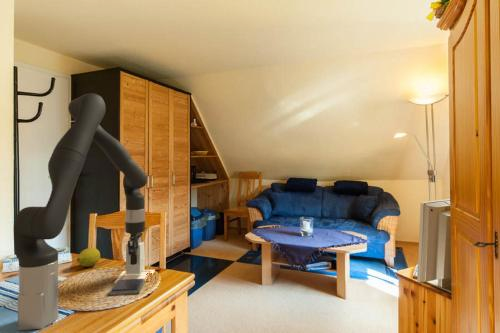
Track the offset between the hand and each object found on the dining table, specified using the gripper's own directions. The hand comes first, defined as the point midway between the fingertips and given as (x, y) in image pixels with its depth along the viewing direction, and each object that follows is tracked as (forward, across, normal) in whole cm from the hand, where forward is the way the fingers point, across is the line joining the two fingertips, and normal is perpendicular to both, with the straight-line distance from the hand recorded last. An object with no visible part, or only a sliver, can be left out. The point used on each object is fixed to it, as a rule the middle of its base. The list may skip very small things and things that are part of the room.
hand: (135, 261), depth 118 cm
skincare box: (+5, 0, 0) cm, 5 cm away
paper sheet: (+6, 0, 0) cm, 6 cm away
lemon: (+6, +15, +23) cm, 29 cm away
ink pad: (+6, -12, 0) cm, 13 cm away
